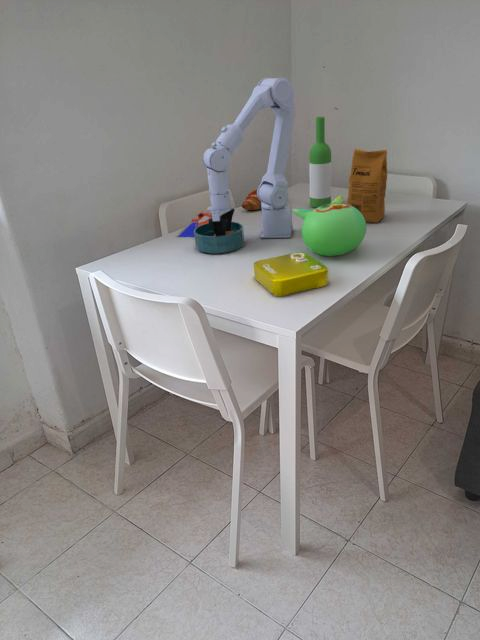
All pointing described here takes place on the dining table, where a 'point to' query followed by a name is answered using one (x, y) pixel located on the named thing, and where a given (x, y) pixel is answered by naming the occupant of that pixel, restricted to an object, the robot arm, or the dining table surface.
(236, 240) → the teal mixing bowl
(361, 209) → the coffee package
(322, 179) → the wine bottle
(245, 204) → the croissant
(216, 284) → the dining table surface
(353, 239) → the green teapot
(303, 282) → the element tile
